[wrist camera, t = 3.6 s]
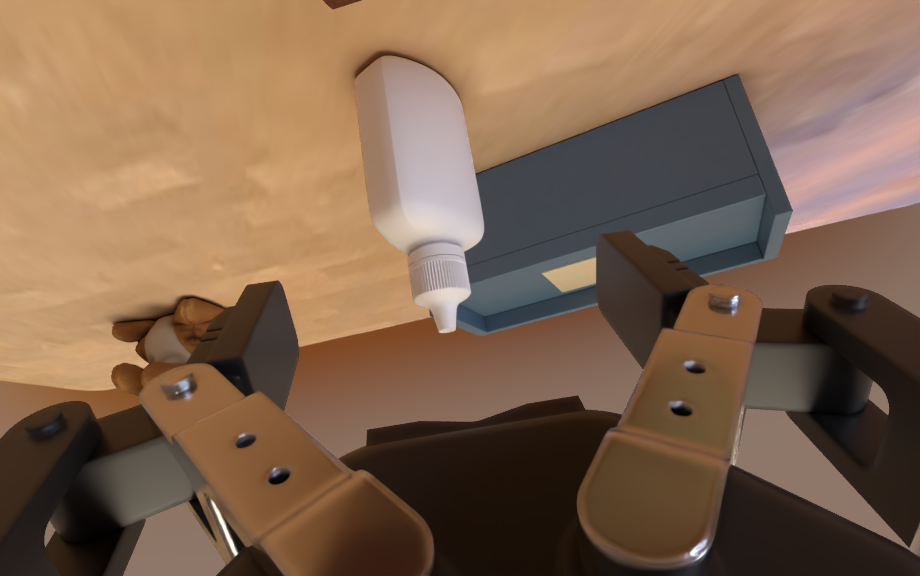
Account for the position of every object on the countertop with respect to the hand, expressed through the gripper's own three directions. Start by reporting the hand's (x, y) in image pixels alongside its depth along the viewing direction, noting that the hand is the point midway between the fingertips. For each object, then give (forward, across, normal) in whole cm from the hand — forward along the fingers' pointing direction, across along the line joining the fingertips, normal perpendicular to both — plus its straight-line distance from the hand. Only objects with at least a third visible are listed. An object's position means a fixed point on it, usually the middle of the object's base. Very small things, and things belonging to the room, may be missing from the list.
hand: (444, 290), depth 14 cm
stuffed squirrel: (+36, +23, +17) cm, 46 cm away
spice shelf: (+25, -12, +6) cm, 28 cm away
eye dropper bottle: (+15, 0, -4) cm, 16 cm away
